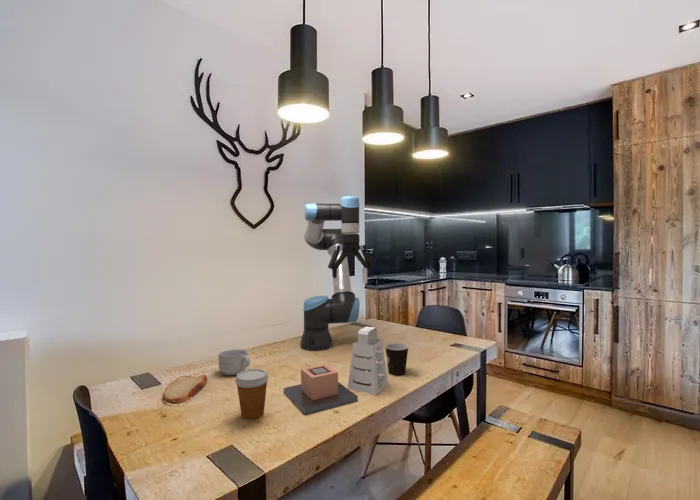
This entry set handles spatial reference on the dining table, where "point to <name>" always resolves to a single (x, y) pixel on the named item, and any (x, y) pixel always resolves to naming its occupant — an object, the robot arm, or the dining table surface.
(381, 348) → the grater
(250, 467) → the dining table surface
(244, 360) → the teacup
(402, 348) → the coffee mug
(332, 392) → the hollow square tube
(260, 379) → the disposable coffee cup
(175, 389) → the slice of bread
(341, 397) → the post stand
